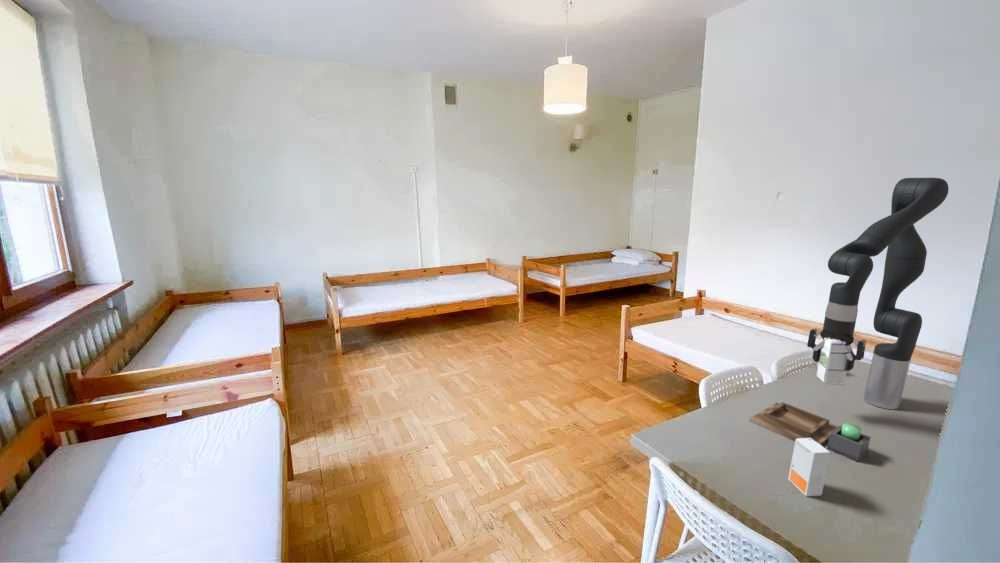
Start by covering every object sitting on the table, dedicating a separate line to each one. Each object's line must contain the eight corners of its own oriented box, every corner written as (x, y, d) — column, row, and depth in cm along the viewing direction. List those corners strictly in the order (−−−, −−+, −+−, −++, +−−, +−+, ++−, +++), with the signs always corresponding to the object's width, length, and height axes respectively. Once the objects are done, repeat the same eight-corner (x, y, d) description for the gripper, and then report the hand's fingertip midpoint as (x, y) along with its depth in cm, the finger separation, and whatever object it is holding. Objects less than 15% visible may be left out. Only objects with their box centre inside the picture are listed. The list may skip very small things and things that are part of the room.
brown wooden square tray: (776, 405, 143) (777, 397, 142) (840, 430, 128) (842, 421, 128) (749, 421, 133) (750, 412, 133) (815, 450, 119) (817, 440, 118)
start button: (843, 431, 120) (845, 421, 119) (861, 437, 117) (863, 428, 116) (838, 435, 118) (840, 425, 117) (856, 442, 115) (858, 432, 114)
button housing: (836, 440, 123) (840, 425, 122) (867, 453, 117) (870, 437, 116) (826, 448, 119) (830, 432, 118) (857, 461, 114) (861, 445, 113)
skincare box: (787, 480, 107) (794, 437, 104) (802, 479, 107) (810, 437, 104) (806, 497, 101) (814, 453, 98) (822, 496, 101) (831, 452, 98)
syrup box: (845, 385, 132) (853, 342, 128) (823, 384, 133) (831, 341, 129) (834, 377, 137) (842, 335, 134) (814, 376, 138) (821, 334, 135)
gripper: (874, 320, 126) (864, 370, 130) (818, 309, 138) (810, 355, 141) (865, 325, 122) (854, 377, 126) (808, 313, 134) (800, 361, 137)
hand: (831, 365), depth 134 cm, fingers closed on syrup box, 8 cm apart
